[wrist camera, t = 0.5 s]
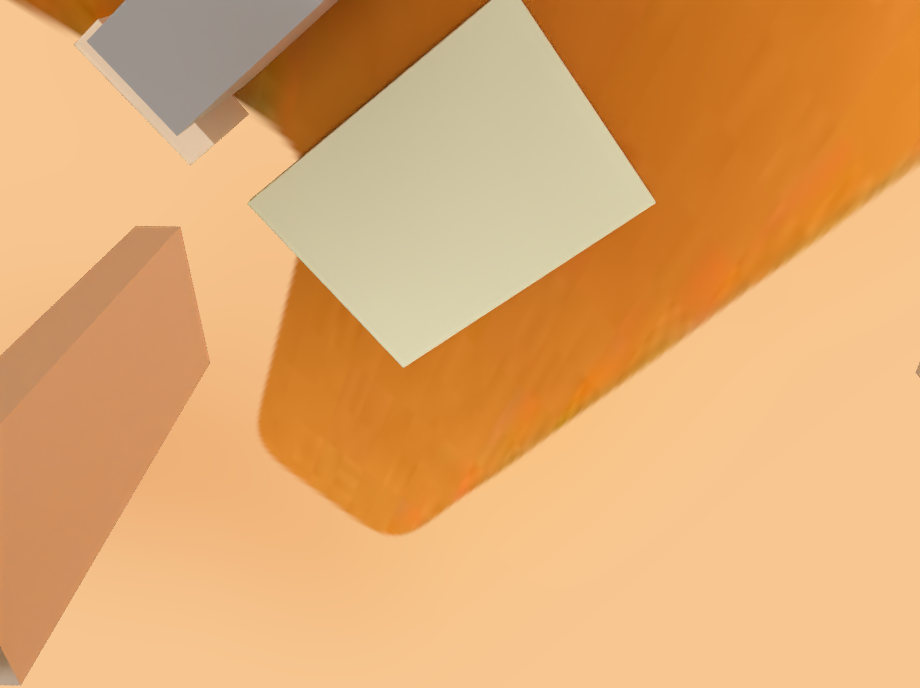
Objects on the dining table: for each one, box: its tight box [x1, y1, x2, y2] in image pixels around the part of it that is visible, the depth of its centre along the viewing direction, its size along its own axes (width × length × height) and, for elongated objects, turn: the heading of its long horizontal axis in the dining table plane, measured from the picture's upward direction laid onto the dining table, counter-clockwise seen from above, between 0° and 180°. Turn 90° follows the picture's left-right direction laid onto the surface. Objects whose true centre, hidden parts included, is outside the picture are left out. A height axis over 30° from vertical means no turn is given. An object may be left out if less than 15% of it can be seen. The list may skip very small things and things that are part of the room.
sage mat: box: [248, 0, 656, 368], centre depth 36 cm, size 12×16×1 cm
